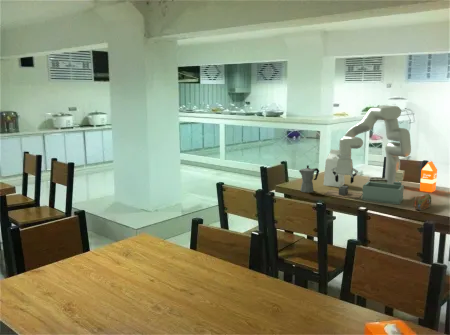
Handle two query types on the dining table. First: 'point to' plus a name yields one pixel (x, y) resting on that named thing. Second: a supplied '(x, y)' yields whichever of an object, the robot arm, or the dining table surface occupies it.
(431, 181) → the orange juice
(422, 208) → the tin
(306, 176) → the coffeepot
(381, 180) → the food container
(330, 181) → the milk
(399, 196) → the toolbox
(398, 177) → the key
